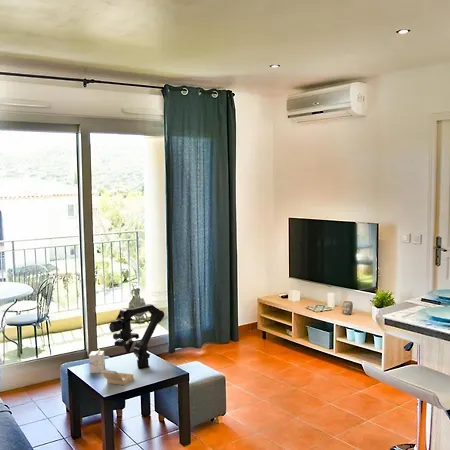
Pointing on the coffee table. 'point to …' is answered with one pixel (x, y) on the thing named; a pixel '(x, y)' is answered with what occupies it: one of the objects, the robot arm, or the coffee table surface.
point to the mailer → (124, 376)
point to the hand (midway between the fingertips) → (127, 353)
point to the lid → (111, 375)
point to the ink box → (96, 361)
